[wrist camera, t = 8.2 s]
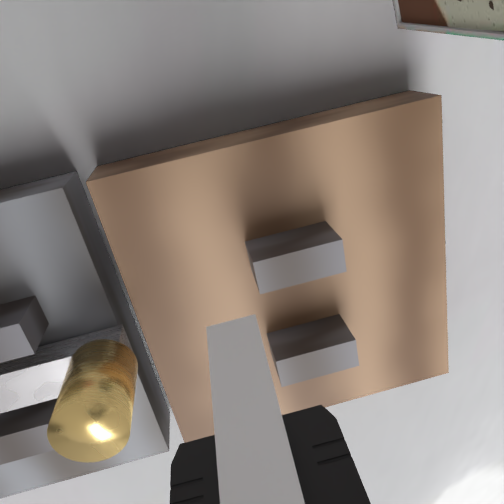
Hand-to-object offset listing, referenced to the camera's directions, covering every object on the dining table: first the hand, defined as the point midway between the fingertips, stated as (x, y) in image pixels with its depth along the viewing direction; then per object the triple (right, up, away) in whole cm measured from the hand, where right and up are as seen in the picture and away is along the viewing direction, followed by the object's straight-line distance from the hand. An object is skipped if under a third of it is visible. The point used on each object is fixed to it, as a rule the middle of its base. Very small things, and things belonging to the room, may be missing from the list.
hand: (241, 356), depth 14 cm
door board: (-3, +1, +12) cm, 12 cm away
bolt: (-9, -2, +8) cm, 13 cm away
